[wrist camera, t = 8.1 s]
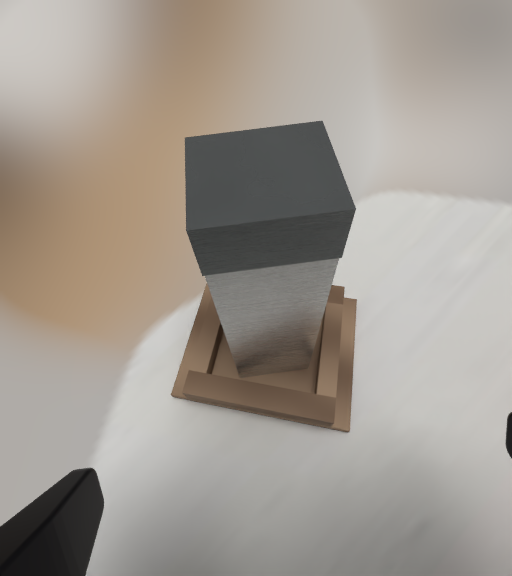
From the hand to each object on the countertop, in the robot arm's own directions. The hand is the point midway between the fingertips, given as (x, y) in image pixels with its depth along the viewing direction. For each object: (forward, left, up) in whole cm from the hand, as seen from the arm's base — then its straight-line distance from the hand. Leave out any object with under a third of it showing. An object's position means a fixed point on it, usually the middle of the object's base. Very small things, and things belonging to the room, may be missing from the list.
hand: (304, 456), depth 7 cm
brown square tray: (+6, +2, -11) cm, 13 cm away
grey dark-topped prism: (+6, +2, -11) cm, 13 cm away
